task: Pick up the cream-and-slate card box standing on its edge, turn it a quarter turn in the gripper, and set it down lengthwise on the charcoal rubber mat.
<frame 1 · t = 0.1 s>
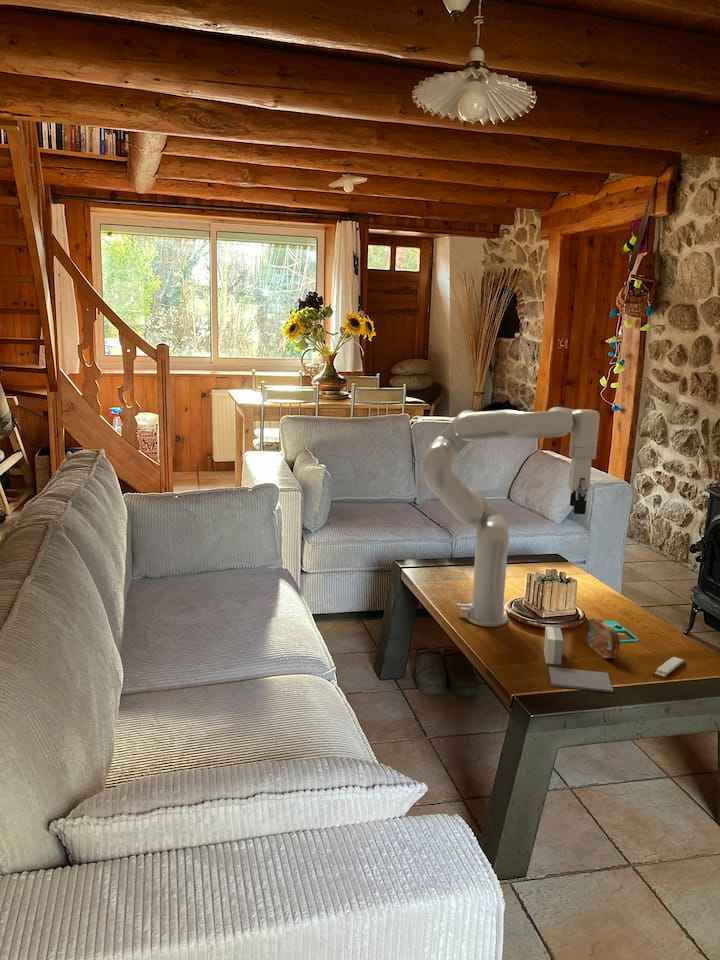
hand: (577, 509, 222), 37 cm above the table, tool pointing down, fingers open, 9 cm apart
harmonica: (668, 671, 203), on the table
handheld gaming console: (614, 633, 227), on the table
tin: (601, 652, 212), on the table
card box: (552, 657, 208), on the table
mat: (579, 680, 194), on the table
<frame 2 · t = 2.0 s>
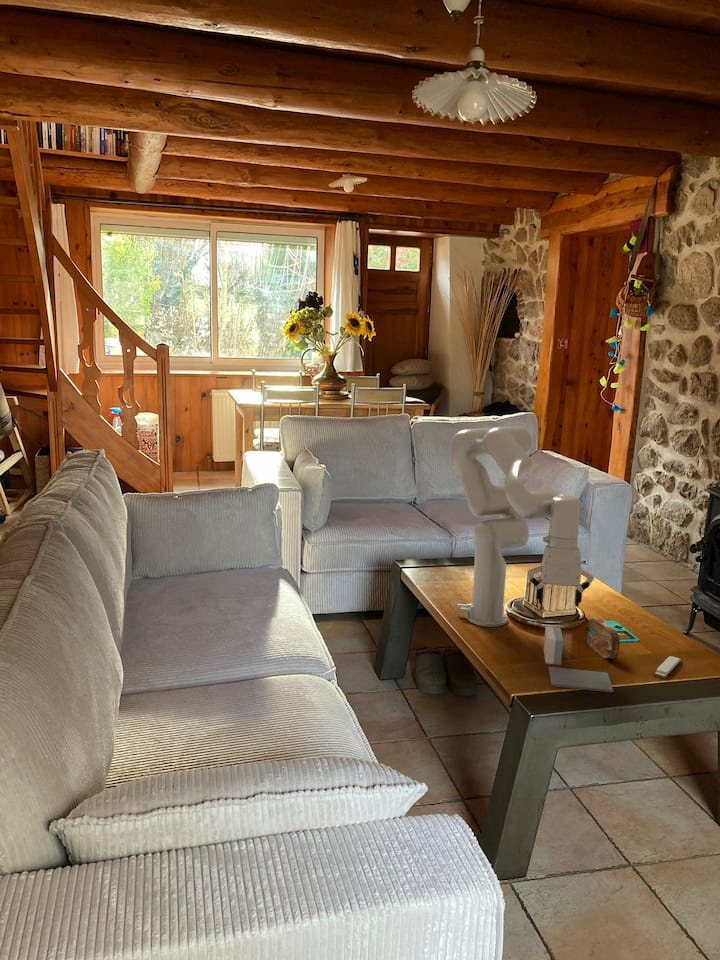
hand: (558, 603, 204), 16 cm above the table, tool pointing down, fingers open, 9 cm apart
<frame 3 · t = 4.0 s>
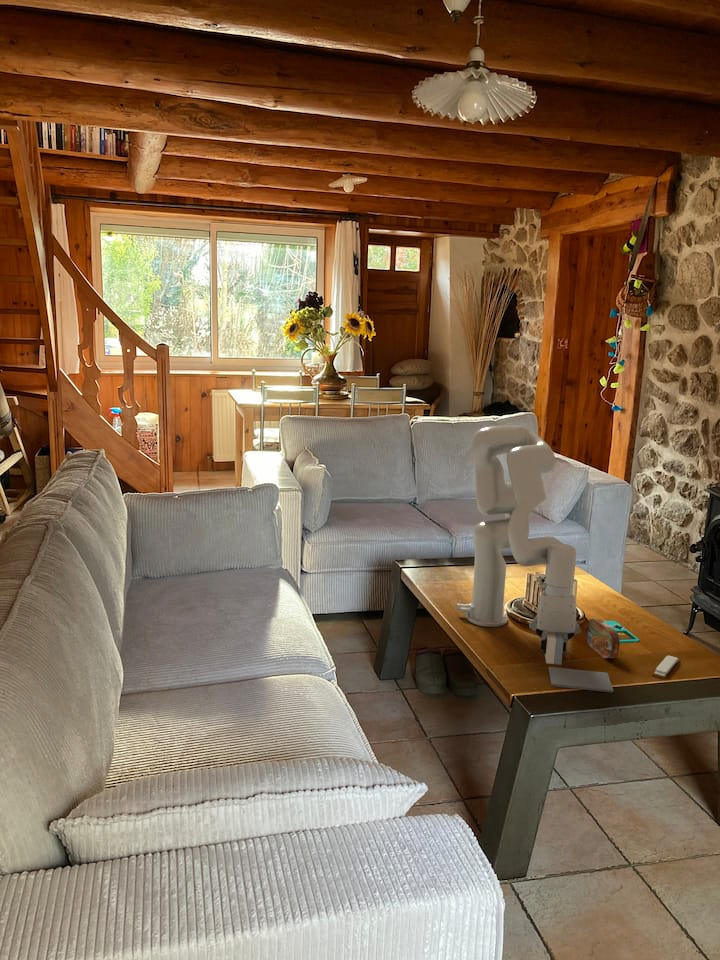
hand: (552, 652, 207), 1 cm above the table, tool pointing down, fingers closed on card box, 4 cm apart
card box: (552, 657, 208), on the table, touching gripper
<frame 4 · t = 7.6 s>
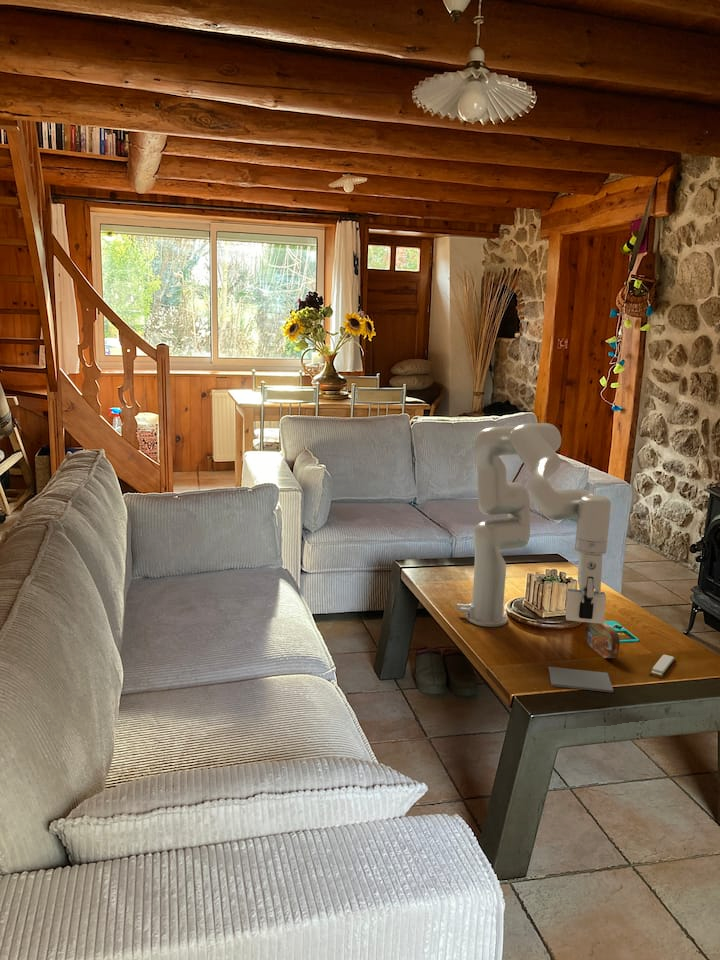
hand: (584, 614, 192), 18 cm above the table, tool pointing down, fingers closed on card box, 3 cm apart
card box: (584, 619, 192), point 16 cm above the table, touching gripper
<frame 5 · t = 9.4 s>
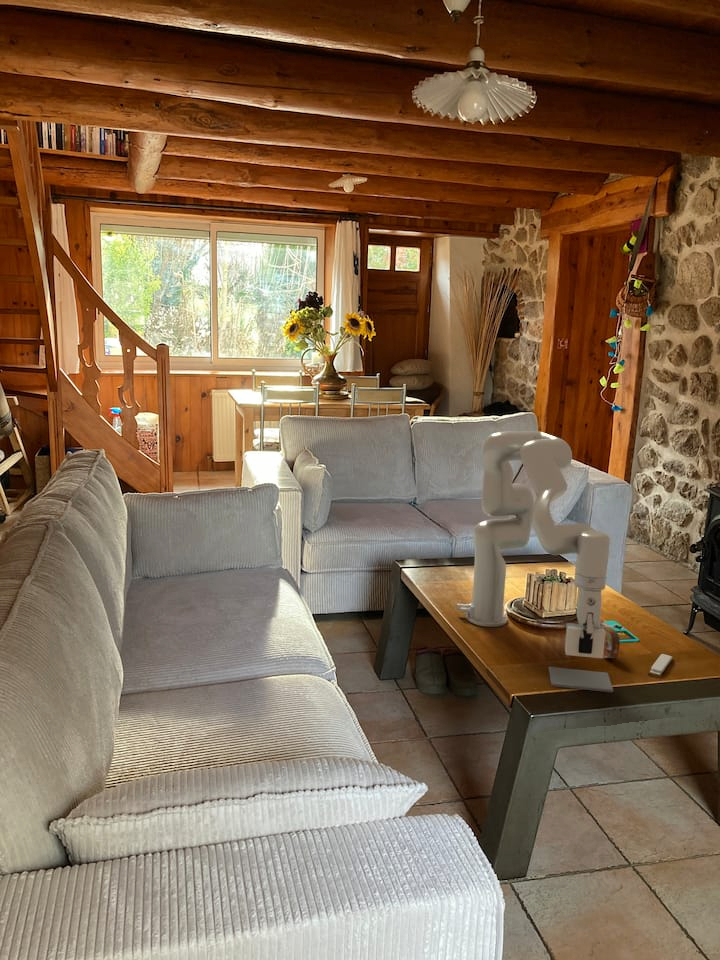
hand: (583, 648, 192), 9 cm above the table, tool pointing down, fingers closed on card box, 3 cm apart
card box: (583, 653, 193), point 8 cm above the table, touching gripper
when the fingers open (3 cm above the table, at t = 11.2 s): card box stays where it is, resting on mat.
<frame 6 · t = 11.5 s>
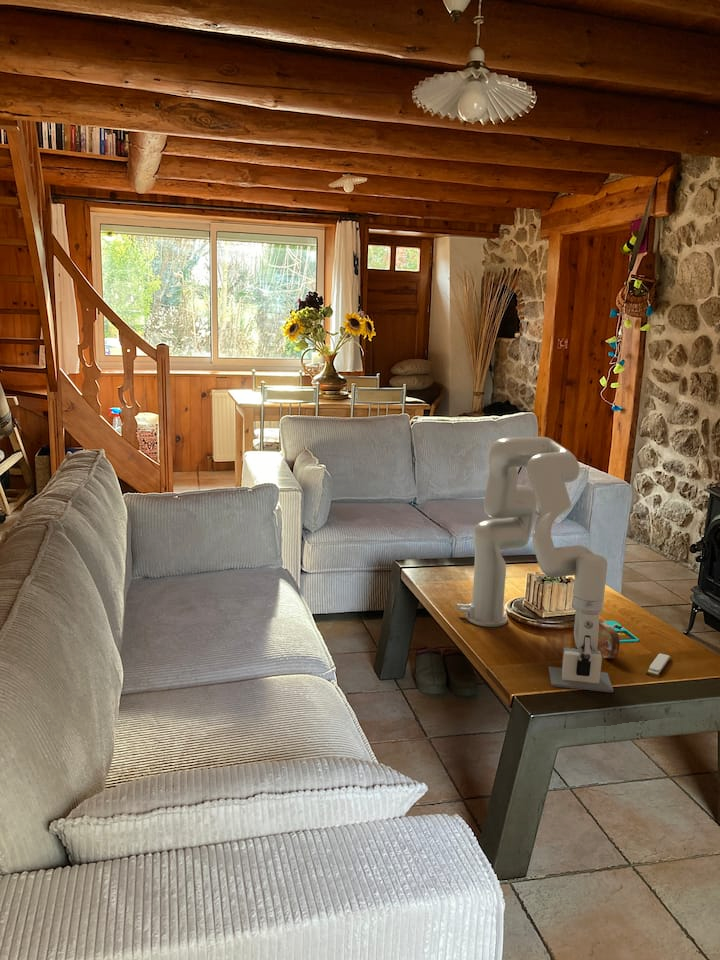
hand: (581, 668, 194), 3 cm above the table, tool pointing down, fingers open, 6 cm apart
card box: (580, 678, 194), point 1 cm above the table, touching mat
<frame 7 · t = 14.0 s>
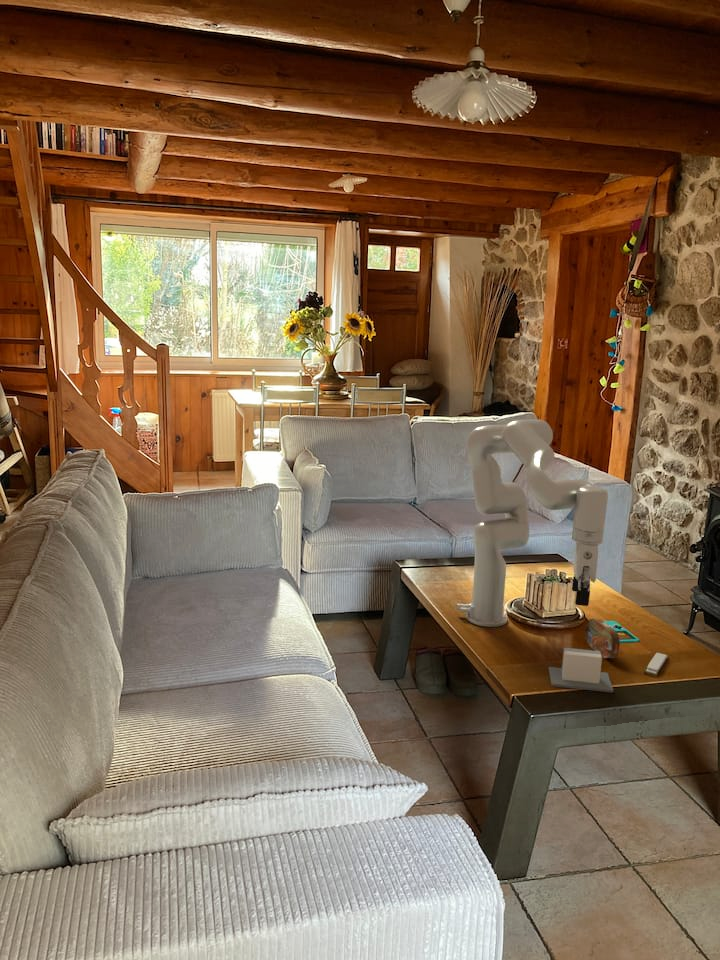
hand: (579, 598, 196), 20 cm above the table, tool pointing down, fingers open, 9 cm apart
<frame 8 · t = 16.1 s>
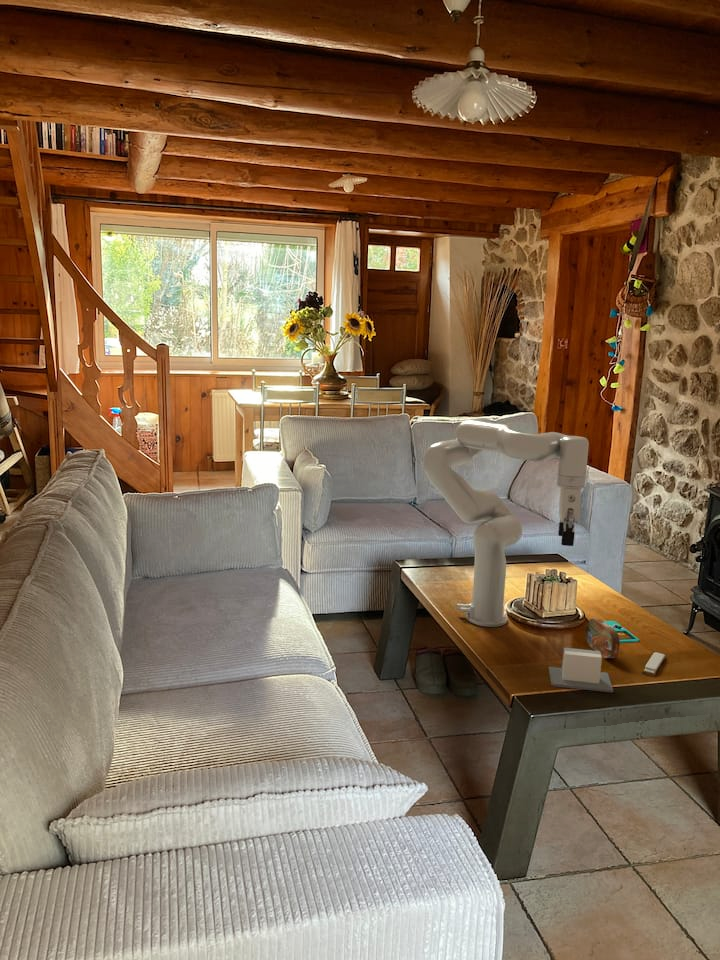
hand: (565, 540, 212), 30 cm above the table, tool pointing down, fingers open, 9 cm apart
at the end: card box 0.1 cm off-centre on the mat, point 0.6 cm above the mat's base; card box tilted 0°; the gripper is holding nothing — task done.
